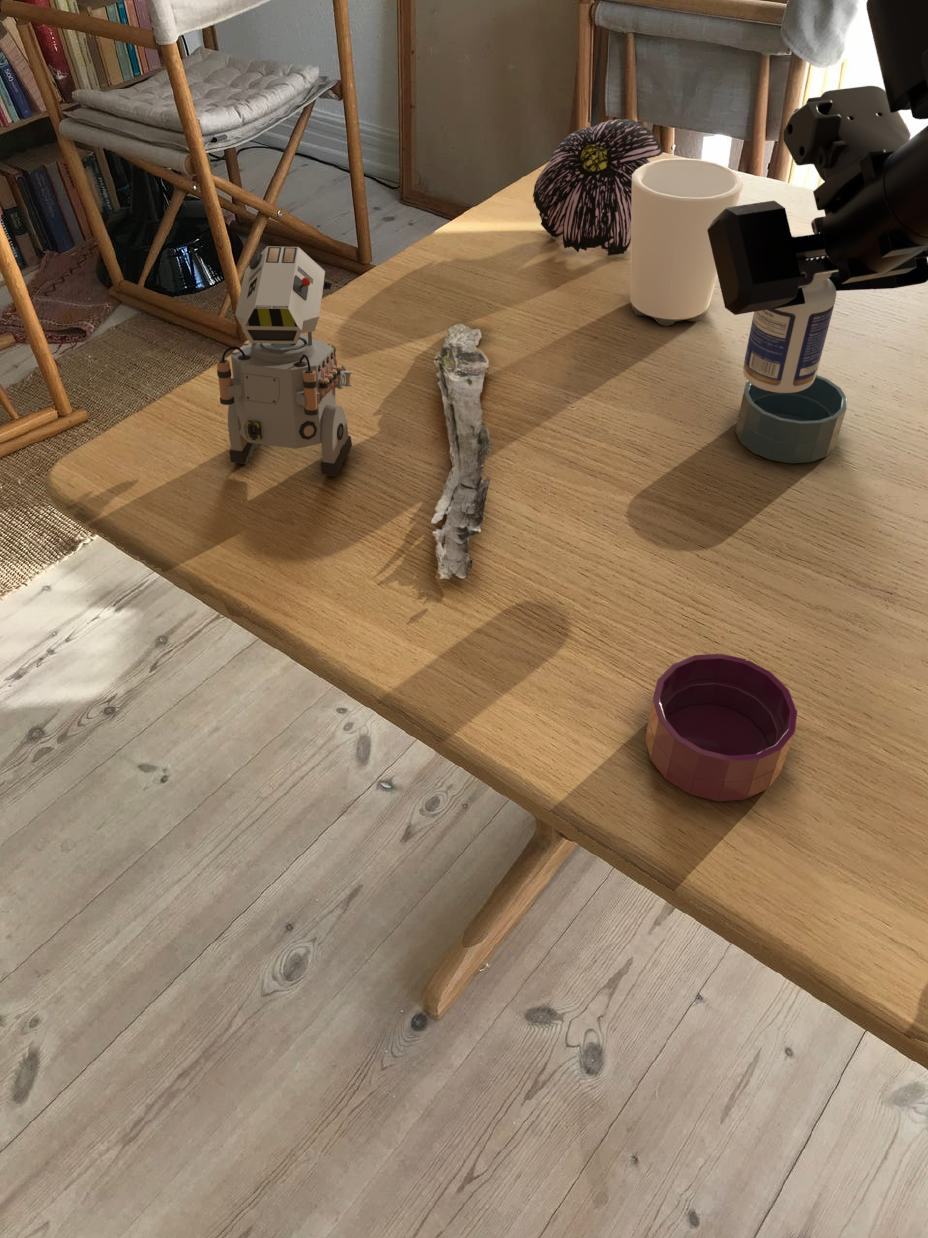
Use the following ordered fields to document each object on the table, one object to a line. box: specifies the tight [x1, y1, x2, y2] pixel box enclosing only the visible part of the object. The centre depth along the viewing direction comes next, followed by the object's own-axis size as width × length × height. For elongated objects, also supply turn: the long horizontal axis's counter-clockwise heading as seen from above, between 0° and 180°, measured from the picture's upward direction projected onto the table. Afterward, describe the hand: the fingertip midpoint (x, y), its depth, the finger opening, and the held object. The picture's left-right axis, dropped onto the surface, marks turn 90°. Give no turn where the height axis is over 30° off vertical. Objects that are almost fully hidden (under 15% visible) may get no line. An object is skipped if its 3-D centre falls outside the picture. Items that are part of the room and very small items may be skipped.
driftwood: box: [430, 322, 491, 580], centre depth 83 cm, size 37×2×5 cm
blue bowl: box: [735, 374, 848, 464], centre depth 82 cm, size 8×8×4 cm
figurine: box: [216, 245, 353, 477], centre depth 78 cm, size 9×12×15 cm
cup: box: [629, 157, 744, 327], centre depth 95 cm, size 10×10×13 cm
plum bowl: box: [644, 653, 798, 802], centre depth 59 cm, size 8×8×4 cm
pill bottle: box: [742, 256, 837, 393], centre depth 73 cm, size 5×5×10 cm
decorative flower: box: [532, 118, 665, 256], centre depth 109 cm, size 15×12×15 cm
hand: (785, 289), depth 73 cm, fingers closed on pill bottle, 5 cm apart
